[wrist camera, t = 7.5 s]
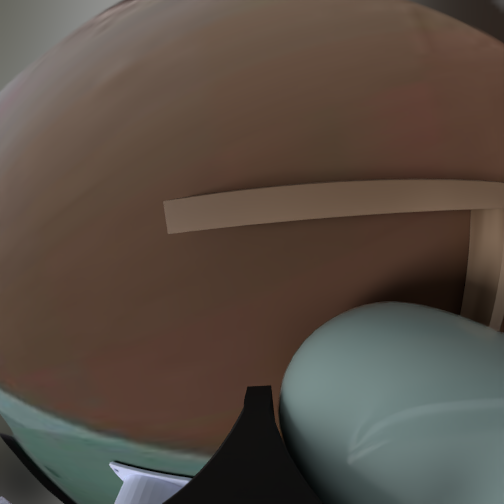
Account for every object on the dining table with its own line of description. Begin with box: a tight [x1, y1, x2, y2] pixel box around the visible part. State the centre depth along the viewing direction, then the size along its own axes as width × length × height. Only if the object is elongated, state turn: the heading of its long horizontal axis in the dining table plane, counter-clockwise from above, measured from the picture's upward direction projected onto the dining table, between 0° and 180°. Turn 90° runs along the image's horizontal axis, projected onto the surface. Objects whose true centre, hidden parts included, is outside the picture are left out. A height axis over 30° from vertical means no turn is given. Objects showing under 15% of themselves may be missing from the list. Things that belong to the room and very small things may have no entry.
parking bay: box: [163, 179, 504, 331], centre depth 10 cm, size 15×14×2 cm
